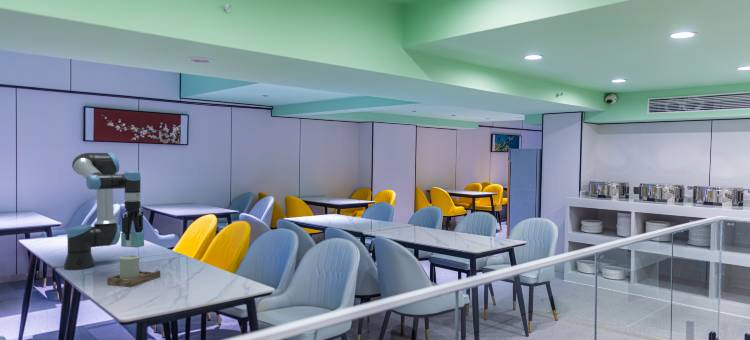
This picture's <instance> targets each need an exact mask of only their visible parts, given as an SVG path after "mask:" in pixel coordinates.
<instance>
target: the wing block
mask: <svg viewBox="0 0 750 340" xmlns="http://www.w3.org/2000/svg"><path fill="white" fill-rule="evenodd" d="M130 234H131V247H130V248H135V249H136V248H142V247H145V232H135V231H130ZM120 246H121V247H124V248H129V247H128V246H126V240H125V234H124V233H122V232H120Z"/></svg>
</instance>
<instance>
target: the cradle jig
mask: <svg viewBox="0 0 750 340" xmlns="http://www.w3.org/2000/svg"><path fill="white" fill-rule="evenodd" d="M158 278H161V270H157V271H153V272H151V271H144V270H143V271H141V270H139V277H138V278H135V279H132V280H128V279H120V273H119V274H116V275H113V276H110V277H107V279H106V283H107V286H109V285H110V286H117V287H118V286H119V287H127V288H128V287H129V288H131V287H132V288H133V287H135V286H138V285H141V284H143V283H146V282H150V281H152V280H154V279H155V280H156V279H158Z"/></svg>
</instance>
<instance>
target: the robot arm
mask: <svg viewBox="0 0 750 340" xmlns="http://www.w3.org/2000/svg"><path fill="white" fill-rule="evenodd" d="M119 161H120V160H119V158H118V156H117V155H116V154H115V153H113V152H84V153H81V154H79V155H77V156H76V157H75V158H74V159H73V160H72V163H71V167H72V170H73V171H74V172H75V173H76V174H78V175H81V176H82V177H83V178H84V179H85V180H86V182H85V183H86V187H87V189H88V190H96V221H94V224H93V226H92V225H91V224H79V225H75V226H71V227H69V228H68V230H67V236H66V238H67V255H66V257H65V262H64V263H63V269H65V270H85V269H91V268H94V267H95V260H94V258H93V257H94V256H93V253H92V248H96V247H97V248H98V247H107V246H108V247H110V246H114V245H117V244H118V243H119V240H120V239H121V233H124V234H125V240H126V246H128V247H127V248H132V247H131V234H130V232H132V231H131V229H132V225H133V226H134V227H133V228H134V232H141V233H143V232H142V231H143V230H144V219H143V218H144V214H145V213H144V211H140V209H141V205H142V204H141V201H140V200H141V178H142V177H141V172H140V171H138V170H126V171H124V173H121V174H118V173H119V171H120V162H119ZM114 189H115V190H118V189H119V190H120V189H122V190H123V189H124V209H125V212H124V213H120V216H121V227H120V225H119V224H117V221H116V220H115V219H114ZM132 223H133V224H132Z"/></svg>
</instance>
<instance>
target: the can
mask: <svg viewBox="0 0 750 340" xmlns="http://www.w3.org/2000/svg"><path fill="white" fill-rule="evenodd" d="M118 260H119V274H120V279H128V280H132V279H135V278H138V277H139V271H140V256H139V255H124V256H120V257H119V259H118Z"/></svg>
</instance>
